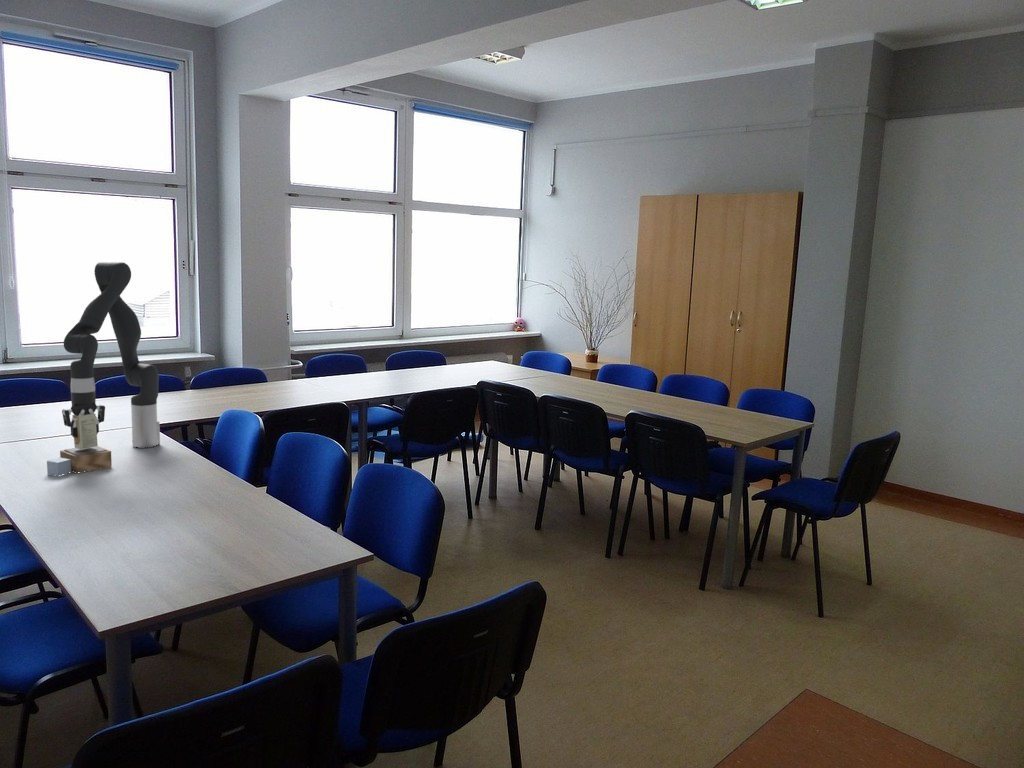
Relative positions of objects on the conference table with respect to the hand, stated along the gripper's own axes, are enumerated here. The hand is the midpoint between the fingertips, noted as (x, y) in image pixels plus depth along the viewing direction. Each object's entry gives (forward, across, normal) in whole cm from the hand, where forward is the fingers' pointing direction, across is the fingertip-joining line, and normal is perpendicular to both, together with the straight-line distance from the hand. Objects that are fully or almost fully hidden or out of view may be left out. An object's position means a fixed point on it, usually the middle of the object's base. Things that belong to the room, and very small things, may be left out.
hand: (85, 435), depth 269 cm
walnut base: (+12, 0, 0) cm, 12 cm away
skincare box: (+4, 0, 0) cm, 4 cm away
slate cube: (+12, +10, +2) cm, 16 cm away
